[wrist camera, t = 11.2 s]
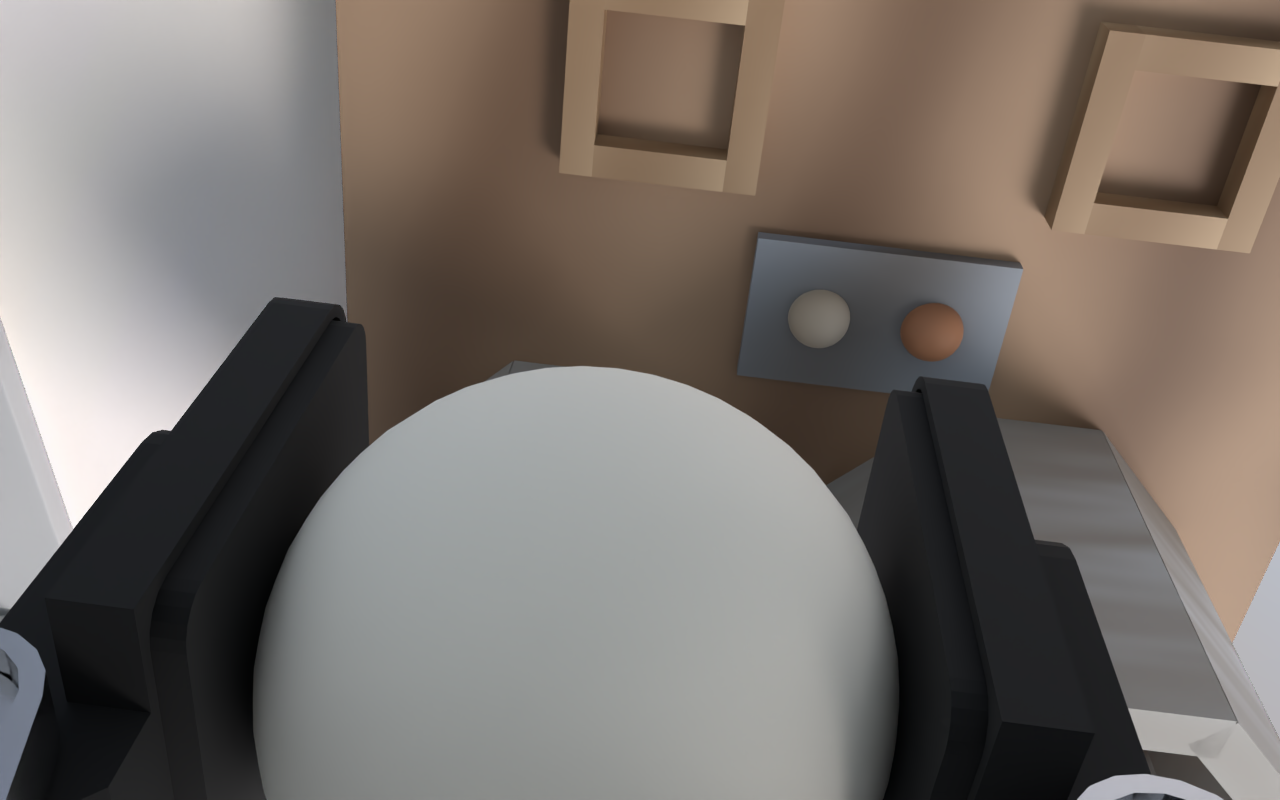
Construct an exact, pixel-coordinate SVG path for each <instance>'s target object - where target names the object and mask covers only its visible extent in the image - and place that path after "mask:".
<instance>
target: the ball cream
mask: <svg viewBox="0 0 1280 800" xmlns="http://www.w3.org/2000/svg"><path fill="white" fill-rule="evenodd" d="M898 714H899V669H898V655H897V649H896V644H895V638H894V632H893V626H892V622H891V618H890V614H889V609H888V605H887V601H886V597H885V594H884V592H883V589H882V586H881V583H880V580H879V577H878V575H877V572H876V569H875V566H874V564H873V562H872V560H871V558H870V556H869V554H868V551H867V549H866V547H865V545H864V543H863V541H862V539H861V537H860V536H859V534H858V532H857V530H856V528H855V526H854V525H853V523H852V521H851V519H850V517H849V516H848V514H847V513H846V511H845V510H844V509H843V507H842V506H841V505H840V503H839V502H838V501H837V499H836V498H835V497H834V495H833V494H832V493H831V492H830V490H829V489H828V488H827V486H826V485H825V484H824V482H823V481H822V480H821V479H820V477H819V476H818V475H817V474H816V472H815V471H814V470H813V469H812V468H811V467H810V466H809V465H808V464H807V463H806V462H805V461H804V460H803V459H802V458H801V457H800V456H799V455H798V454H797V453H796V452H795V451H794V450H793V449H792V448H791V447H790V446H789V445H788V444H786V443H785V442H784V441H782V440H781V439H780V438H779V437H777V436H776V435H775V434H773V433H772V432H771V431H769V430H768V429H767V428H765V427H764V426H763V425H761V424H760V423H759V422H757V421H756V420H754V419H753V418H751V417H750V416H748V415H747V414H745V413H743V412H741V411H740V410H738V409H736V408H735V407H733V406H731V405H729V404H728V403H726V402H724V401H722V400H721V399H719V398H717V397H714V396H712V395H710V394H707V393H705V392H703V391H700V390H698V389H696V388H693V387H691V386H689V385H686V384H683V383H679V382H676V381H673V380H669V379H666V378H663V377H659V376H656V375H652V374H647V373H641V372H636V371H630V370H625V369H619V368H605V367H590V366H573V367H552V368H543V369H537V370H531V371H525V372H519V373H514V374H510V375H506V376H502V377H498V378H495V379H492V380H488V381H485V382H482V383H478V384H475V385H472V386H468V387H465V388H463V389H461V390H459V391H456V392H454V393H452V394H450V395H447V396H445V397H443V398H441V399H438V400H436V401H434V402H433V403H431V404H429V405H428V406H426V407H424V408H423V409H421V410H420V411H418V412H416V413H415V414H413V415H412V416H410V417H408V418H407V419H405V420H404V421H402V422H400V423H399V424H397V425H396V426H394V427H392V428H391V429H389V430H387V431H386V432H385V433H384V434H383V435H381V436H380V437H379V438H378V439H377V440H376V441H374V442H373V443H372V444H371V445H370V446H369V447H367V448H366V449H365V450H364V451H363V452H362V453H360V454H359V455H358V456H357V457H356V458H355V459H354V460H353V461H352V462H351V463H350V464H349V465H348V466H347V467H346V468H345V469H344V470H343V471H342V473H341V474H340V475H339V476H338V477H337V479H336V480H335V481H334V482H333V483H332V484H331V486H330V487H329V488H328V489H327V490H326V491H325V493H324V494H323V495H322V496H321V497H320V499H319V500H318V502H317V504H316V505H315V507H314V508H313V510H312V511H311V513H310V514H309V516H308V517H307V519H306V520H305V522H304V523H303V525H302V527H301V529H300V530H299V532H298V534H297V535H296V537H295V539H294V540H293V542H292V544H291V545H290V547H289V549H288V551H287V554H286V556H285V558H284V561H283V563H282V566H281V568H280V570H279V573H278V575H277V578H276V580H275V583H274V586H273V588H272V591H271V594H270V597H269V599H268V602H267V605H266V607H265V612H264V617H263V621H262V626H261V631H260V636H259V641H258V646H257V652H256V658H255V664H254V674H253V733H254V740H255V746H256V752H257V759H258V765H259V770H260V775H261V780H262V785H263V790H264V794H265V796H266V799H267V800H883V798H884V795H885V792H886V789H887V786H888V783H889V778H890V773H891V768H892V763H893V757H894V752H895V745H896V738H897V727H898Z"/></svg>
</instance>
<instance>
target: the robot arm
mask: <svg viewBox="0 0 1280 800" xmlns="http://www.w3.org/2000/svg"><path fill="white" fill-rule="evenodd" d="M367 447H369V420H368V386H367V353H366V335H365V330H364V327H363V326H362V324H357V323H349V322H346V318H345V314H344V310H343V309H342V307H341V306H340V305H336V304H328V303H320V302H312V301H304V300H296V299H287V298H277V297H275V298H273V299H272V300H271V301H270V302H269V303H268V304H267V306H266V307H265V308H264V310H263V311H262V312H261V314H260V315H259V316H258V318H257V319H256V320H255V322H254V323H253V324H252V325H251V327H250V328H249V329H248V331H247V332H246V333H245V335H244V336H243V337H242V339H241V340H240V341H239V343H238V344H237V345H236V347H235V348H234V349H233V350H232V352H231V353H230V354H229V356H228V357H227V358H226V360H225V361H224V362H223V364H222V365H221V366H220V368H219V369H218V370H217V371H216V373H215V374H214V375H213V377H212V378H211V379H210V381H209V382H208V383H207V385H206V386H205V387H204V389H203V390H202V391H201V393H200V394H199V395H198V396H197V398H196V399H195V400H194V402H193V403H192V404H191V406H190V407H189V408H188V410H187V411H186V412H185V414H184V415H183V416H182V417H181V419H180V420H179V421H178V423H177V424H176V425H175V427H174V428H173V429H172V431H167V430H161V431H157V432H152V433H151V434H150V435H149V436H148V437H147V438H146V439H145V440H144V441H143V442H142V443H141V444H140V445H139V447H138V448H137V449H136V450H135V452H134V453H133V454H132V455H131V457H130V458H129V459H128V461H127V462H126V463H125V464H124V466H123V467H122V468H121V469H120V471H119V472H118V473H117V475H116V476H115V477H114V478H113V480H112V481H111V482H110V483H109V485H108V486H107V487H106V488H105V490H104V491H103V492H102V494H101V495H100V496H99V497H98V499H97V500H96V501H95V502H94V504H93V505H92V506H91V508H90V509H89V510H88V511H87V513H86V514H85V515H84V516H83V518H82V519H81V520H80V521H79V523H78V524H77V525H76V527H75V528H74V529H73V530H72V532H71V533H70V534H69V535H68V537H67V538H66V539H65V541H64V542H63V543H62V544H61V546H60V547H59V548H58V549H57V551H56V552H55V553H54V555H53V556H52V557H51V558H50V560H49V561H48V562H47V563H46V565H45V566H44V567H43V568H42V570H41V571H40V572H39V574H38V575H37V576H36V577H35V579H34V580H33V581H32V582H31V584H30V585H29V586H28V588H27V589H26V590H25V591H24V593H23V594H22V595H21V596H20V598H19V599H18V600H17V602H16V603H15V604H14V605H13V607H12V608H11V609H10V610H9V612H8V613H7V614H6V615H5V617H4V618H3V619H2V621H1V622H0V800H267V799H266V796H265V794H264V790H263V785H262V780H261V775H260V770H259V765H258V759H257V752H256V746H255V740H254V733H253V674H254V664H255V658H256V652H257V646H258V641H259V636H260V631H261V626H262V621H263V617H264V612H265V607H266V605H267V602H268V599H269V597H270V594H271V591H272V588H273V586H274V583H275V580H276V578H277V575H278V573H279V570H280V568H281V566H282V563H283V561H284V558H285V556H286V554H287V551H288V549H289V547H290V545H291V544H292V542H293V540H294V539H295V537H296V535H297V534H298V532H299V530H300V529H301V527H302V525H303V523H304V522H305V520H306V519H307V517H308V516H309V514H310V513H311V511H312V510H313V508H314V507H315V505H316V504H317V502H318V500H319V499H320V497H321V496H322V495H323V494H324V493H325V491H326V490H327V489H328V488H329V487H330V486H331V484H332V483H333V482H334V481H335V480H336V479H337V477H338V476H339V475H340V474H341V473H342V471H343V470H344V469H345V468H346V467H347V466H348V465H349V464H350V463H351V462H352V461H353V460H354V459H355V458H356V457H357V456H358V455H359V454H360V453H362V452H363V451H364V450H365V449H366V448H367ZM857 532H858V534H859V536H860V537H861V539H862V541H863V543H864V545H865V547H866V549H867V551H868V554H869V556H870V558H871V560H872V562H873V564H874V566H875V569H876V572H877V575H878V577H879V580H880V583H881V586H882V589H883V592H884V594H885V597H886V601H887V605H888V609H889V614H890V618H891V622H892V626H893V632H894V638H895V644H896V649H897V655H898V669H899V714H898V727H897V738H896V745H895V752H894V757H893V763H892V768H891V773H890V778H889V783H888V786H887V789H886V792H885V795H884V798H883V800H1224V799H1222V798H1221V797H1219V796H1217V795H1215V794H1213V793H1210V792H1208V791H1205V790H1203V789H1201V788H1198V787H1196V786H1193V785H1191V784H1188V783H1186V782H1183V781H1181V780H1176V779H1170V778H1165V777H1160V776H1154V775H1151V772H1150V769H1149V767H1148V764H1147V761H1146V758H1145V755H1144V752H1143V749H1142V747H1141V744H1140V741H1139V738H1138V735H1137V732H1136V730H1135V727H1134V724H1133V721H1132V718H1131V715H1130V712H1129V710H1128V707H1127V704H1126V701H1125V698H1124V695H1123V692H1122V690H1121V687H1120V684H1119V681H1118V678H1117V675H1116V672H1115V670H1114V667H1113V664H1112V661H1111V658H1110V655H1109V653H1108V650H1107V647H1106V644H1105V641H1104V638H1103V635H1102V633H1101V630H1100V627H1099V624H1098V621H1097V618H1096V615H1095V613H1094V610H1093V607H1092V604H1091V601H1090V598H1089V595H1088V593H1087V590H1086V587H1085V584H1084V581H1083V578H1082V575H1081V573H1080V570H1079V567H1078V564H1077V561H1076V559H1075V557H1074V555H1073V553H1072V551H1071V549H1070V548H1069V547H1068V546H1066V545H1064V544H1063V543H1058V542H1050V541H1042V540H1035V539H1034V536H1033V533H1032V530H1031V527H1030V523H1029V520H1028V517H1027V514H1026V511H1025V507H1024V504H1023V501H1022V498H1021V495H1020V491H1019V488H1018V485H1017V482H1016V478H1015V475H1014V472H1013V469H1012V466H1011V462H1010V459H1009V456H1008V453H1007V450H1006V446H1005V443H1004V440H1003V437H1002V434H1001V430H1000V427H999V424H998V421H997V417H996V414H995V411H994V408H993V405H992V401H991V398H990V395H989V392H988V389H987V387H986V386H985V385H984V384H979V383H971V382H963V381H955V380H947V379H939V378H931V377H923V376H919V377H918V379H917V380H916V382H915V384H914V386H913V388H912V392H910V391H902V390H894V389H893V391H892V392H891V394H890V396H889V398H888V402H887V405H886V409H885V414H884V418H883V422H882V426H881V431H880V435H879V439H878V443H877V447H876V452H875V456H874V460H873V464H872V469H871V473H870V477H869V481H868V485H867V490H866V494H865V498H864V502H863V507H862V511H861V515H860V519H859V523H858V528H857Z"/></svg>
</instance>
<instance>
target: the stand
mask: <svg viewBox="0 0 1280 800" xmlns="http://www.w3.org/2000/svg"><path fill="white" fill-rule="evenodd" d="M336 23H337V50H338V77H339V104H340V131H341V158H342V185H343V212H344V239H345V266H346V293H347V320H348V322H349V323H357V324H362V326H363V327H364V330H365V335H366V353H367V386H368V420H369V446H370V445H371V444H372V443H373V442H374V441H376V440H377V439H378V438H379V437H380V436H381V435H383V434H384V433H385V432H386V431H387V430H389V429H391V428H392V427H394V426H396V425H397V424H399V423H400V422H402V421H404V420H405V419H407V418H408V417H410V416H412V415H413V414H415V413H416V412H418V411H420V410H421V409H423V408H424V407H426V406H428V405H429V404H431V403H433V402H434V401H436V400H438V399H441V398H443V397H445V396H447V395H450V394H452V393H454V392H456V391H459V390H461V389H463V388H465V387H468V386H472V385H475V384H478V383H482V382H485V381H488V380H492V379H495V378H498V377H502V376H506V375H510V374H514V373H519V372H525V371H531V370H537V369H543V368H552V367H573V366H590V367H605V368H619V369H625V370H630V371H636V372H641V373H647V374H652V375H656V376H659V377H663V378H666V379H669V380H673V381H676V382H679V383H683V384H686V385H689V386H691V387H693V388H696V389H698V390H700V391H703V392H705V393H707V394H710V395H712V396H714V397H717V398H719V399H721V400H722V401H724V402H726V403H728V404H729V405H731V406H733V407H735V408H736V409H738V410H740V411H741V412H743V413H745V414H747V415H748V416H750V417H751V418H753V419H754V420H756V421H757V422H759V423H760V424H761V425H763V426H764V427H765V428H767V429H768V430H769V431H771V432H772V433H773V434H775V435H776V436H777V437H779V438H780V439H781V440H782V441H784V442H785V443H786V444H788V445H789V446H790V447H791V448H792V449H793V450H794V451H795V452H796V453H797V454H798V455H799V456H800V457H801V458H802V459H803V460H804V461H805V462H806V463H807V464H808V465H809V466H810V467H811V468H812V469H813V470H814V471H815V472H816V474H817V475H818V476H819V477H820V479H821V480H822V481H823V482H824V484H825V485H826V486H827V488H828V489H829V490H830V492H831V493H832V494H833V495H834V497H835V498H836V499H837V501H838V502H839V503H840V505H841V506H842V507H843V509H844V510H845V511H846V513H847V514H848V516H849V517H850V519H851V521H852V523H853V525H854V526H855V528H856V530H857V528H858V523H859V519H860V515H861V511H862V507H863V502H864V498H865V494H866V490H867V485H868V481H869V477H870V473H871V469H872V464H873V460H874V456H875V452H876V447H877V443H878V439H879V435H880V431H881V426H882V422H883V418H884V414H885V409H886V405H887V402H888V398H889V396H890V394H891V392H892V391H893V389H894V390H902V391H910V392H912V388H913V386H914V384H915V382H916V380H917V379H918V377H919V376H923V377H931V378H939V379H947V380H955V381H963V382H971V383H979V384H984V385H985V386H986V387H987V389H988V392H989V395H990V398H991V401H992V405H993V408H994V411H995V414H996V417H997V421H998V424H999V427H1000V430H1001V434H1002V437H1003V440H1004V443H1005V446H1006V450H1007V453H1008V456H1009V459H1010V462H1011V466H1012V469H1013V472H1014V475H1015V478H1016V482H1017V485H1018V488H1019V491H1020V495H1021V498H1022V501H1023V504H1024V507H1025V511H1026V514H1027V517H1028V520H1029V523H1030V527H1031V530H1032V533H1033V536H1034V539H1035V540H1042V541H1050V542H1058V543H1063V544H1064V545H1066V546H1068V547H1069V548H1070V549H1071V551H1072V553H1073V555H1074V557H1075V559H1076V561H1077V564H1078V567H1079V570H1080V573H1081V575H1082V578H1083V581H1084V584H1085V587H1086V590H1087V593H1088V595H1089V598H1090V601H1091V604H1092V607H1093V610H1094V613H1095V615H1096V618H1097V621H1098V624H1099V627H1100V630H1101V633H1102V635H1103V638H1104V641H1105V644H1106V647H1107V650H1108V653H1109V655H1110V658H1111V661H1112V664H1113V667H1114V670H1115V672H1116V675H1117V678H1118V681H1119V684H1120V687H1121V690H1122V692H1123V695H1124V698H1125V701H1126V704H1127V707H1128V710H1129V712H1130V715H1131V718H1132V721H1133V724H1134V727H1135V730H1136V732H1137V735H1138V738H1139V741H1140V744H1141V747H1142V749H1143V752H1144V755H1145V758H1146V761H1147V764H1148V767H1149V769H1150V772H1151V775H1154V776H1160V777H1165V778H1170V779H1176V780H1181V781H1183V782H1186V783H1188V784H1191V785H1193V786H1196V787H1198V788H1201V789H1203V790H1205V791H1208V792H1210V793H1213V794H1215V795H1217V796H1219V797H1221V798H1222V799H1224V800H1280V739H1279V737H1278V735H1277V732H1276V730H1275V728H1274V726H1273V724H1272V722H1271V720H1270V718H1269V716H1268V714H1267V712H1266V710H1265V708H1264V707H1263V704H1262V702H1261V701H1260V698H1259V696H1258V694H1257V692H1256V690H1255V688H1254V686H1253V684H1252V682H1251V680H1250V678H1249V676H1248V674H1247V672H1246V670H1245V668H1244V666H1243V664H1242V662H1241V660H1240V658H1239V656H1238V654H1237V652H1236V650H1235V648H1234V646H1233V645H1232V642H1233V640H1234V638H1235V636H1236V634H1237V631H1238V630H1239V627H1240V625H1241V623H1242V621H1243V619H1244V617H1245V615H1246V612H1247V610H1248V608H1249V606H1250V604H1251V602H1252V600H1253V597H1254V595H1255V593H1256V591H1257V589H1258V587H1259V585H1260V582H1261V580H1262V578H1263V576H1264V574H1265V572H1266V570H1267V568H1268V565H1269V563H1270V561H1271V559H1272V557H1273V555H1274V553H1275V551H1276V548H1277V546H1278V544H1279V542H1280V0H336Z"/></svg>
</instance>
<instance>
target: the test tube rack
mask: <svg viewBox="0 0 1280 800" xmlns="http://www.w3.org/2000/svg"><path fill="white" fill-rule="evenodd" d="M72 530H73V528H72V525H71V522H70V519H69V516H68V513H67V510H66V507H65V504H64V501H63V498H62V496H61V493H60V490H59V487H58V484H57V481H56V478H55V475H54V472H53V469H52V466H51V464H50V461H49V458H48V455H47V452H46V449H45V446H44V443H43V440H42V437H41V434H40V432H39V429H38V426H37V423H36V420H35V417H34V414H33V411H32V408H31V405H30V402H29V399H28V397H27V394H26V391H25V388H24V385H23V382H22V379H21V376H20V373H19V370H18V367H17V365H16V362H15V359H14V356H13V353H12V350H11V347H10V344H9V341H8V338H7V335H6V333H5V330H4V327H3V324H2V321H1V318H0V622H1V621H2V619H3V618H4V617H5V615H6V614H7V613H8V612H9V610H10V609H11V608H12V607H13V605H14V604H15V603H16V602H17V600H18V599H19V598H20V596H21V595H22V594H23V593H24V591H25V590H26V589H27V588H28V586H29V585H30V584H31V582H32V581H33V580H34V579H35V577H36V576H37V575H38V574H39V572H40V571H41V570H42V568H43V567H44V566H45V565H46V563H47V562H48V561H49V560H50V558H51V557H52V556H53V555H54V553H55V552H56V551H57V549H58V548H59V547H60V546H61V544H62V543H63V542H64V541H65V539H66V538H67V537H68V535H69V534H70V533H71V532H72Z"/></svg>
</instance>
